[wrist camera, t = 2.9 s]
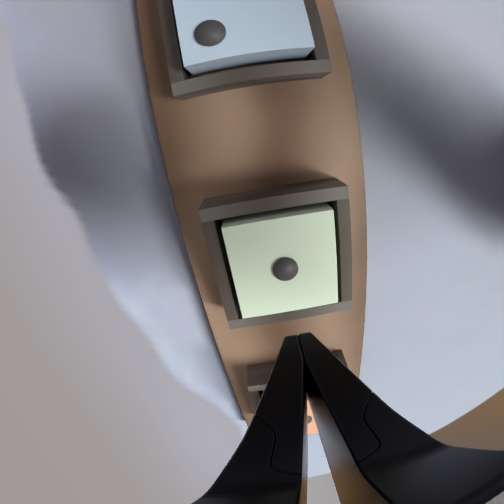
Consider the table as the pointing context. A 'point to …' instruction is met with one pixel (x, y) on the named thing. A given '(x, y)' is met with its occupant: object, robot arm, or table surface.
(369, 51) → the table surface
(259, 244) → the tile
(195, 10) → the tile
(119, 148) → the table surface
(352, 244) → the board
